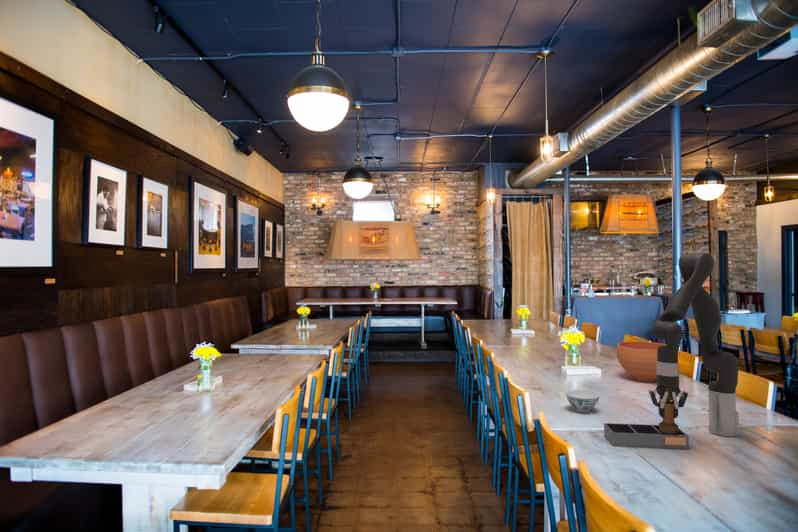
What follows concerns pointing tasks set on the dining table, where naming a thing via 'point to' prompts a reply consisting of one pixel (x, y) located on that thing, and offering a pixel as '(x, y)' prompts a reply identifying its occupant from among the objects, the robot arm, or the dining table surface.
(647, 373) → the bowl
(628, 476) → the dining table surface
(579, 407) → the chinaware
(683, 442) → the rack
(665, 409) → the brown turned rounded post
